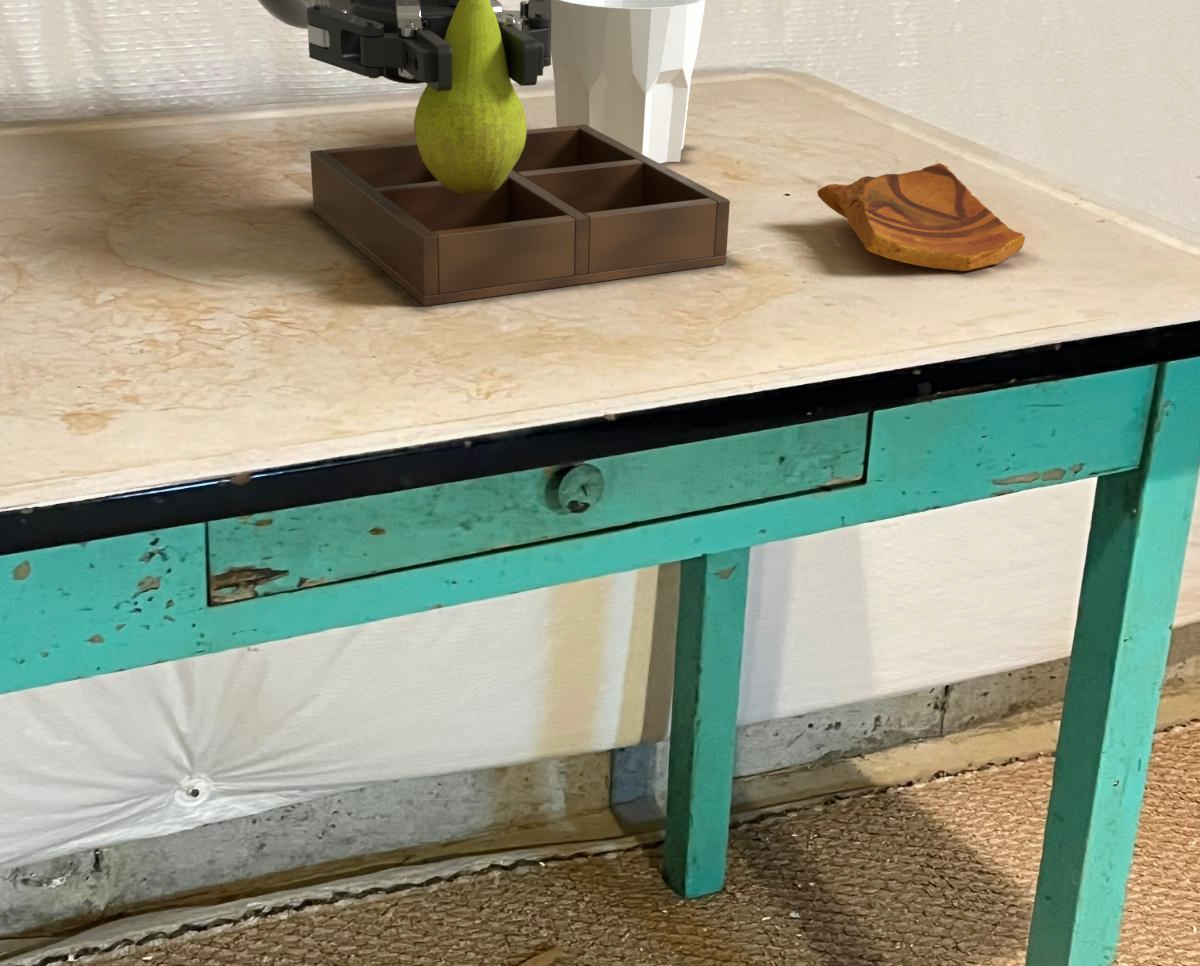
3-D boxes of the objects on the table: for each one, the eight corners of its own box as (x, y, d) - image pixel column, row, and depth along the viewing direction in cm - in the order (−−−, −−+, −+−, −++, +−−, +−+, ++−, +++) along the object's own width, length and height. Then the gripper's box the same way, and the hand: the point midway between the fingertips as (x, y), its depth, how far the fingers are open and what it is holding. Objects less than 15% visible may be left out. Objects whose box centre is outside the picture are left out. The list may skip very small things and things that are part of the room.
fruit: (439, 215, 85) (433, -39, 79) (400, 183, 89) (391, -59, 83) (545, 202, 87) (547, -45, 81) (501, 172, 91) (500, -65, 85)
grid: (424, 306, 84) (422, 237, 83) (313, 211, 98) (309, 150, 96) (726, 264, 91) (730, 200, 90) (584, 181, 105) (585, 124, 103)
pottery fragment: (944, 159, 99) (1047, 175, 91) (943, 239, 101) (1045, 261, 92) (791, 178, 96) (883, 196, 87) (793, 260, 98) (883, 285, 89)
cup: (610, 181, 105) (615, 14, 100) (514, 146, 112) (514, -12, 107) (729, 157, 110) (739, -2, 106) (630, 125, 117) (635, -26, 112)
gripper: (263, -68, 92) (341, -8, 78) (511, -76, 96) (627, -21, 83) (272, 74, 95) (349, 155, 82) (511, 60, 100) (622, 134, 86)
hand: (488, 66), depth 82 cm, fingers closed on fruit, 3 cm apart
